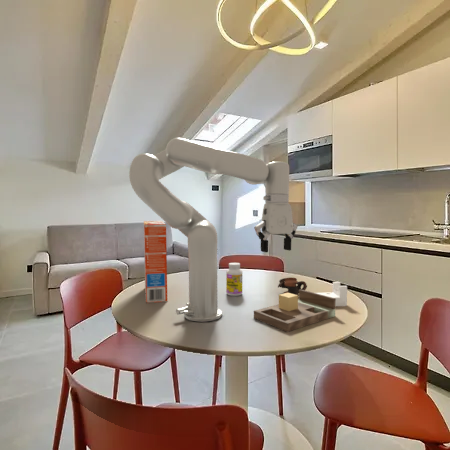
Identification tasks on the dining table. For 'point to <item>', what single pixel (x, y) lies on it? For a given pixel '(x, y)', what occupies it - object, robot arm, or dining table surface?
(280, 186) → the robot arm
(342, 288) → the bracket
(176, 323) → the dining table surface
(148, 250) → the orange cereal box
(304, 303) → the box
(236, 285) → the supplement bottle
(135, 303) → the dining table surface
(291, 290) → the pottery mug
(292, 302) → the block
